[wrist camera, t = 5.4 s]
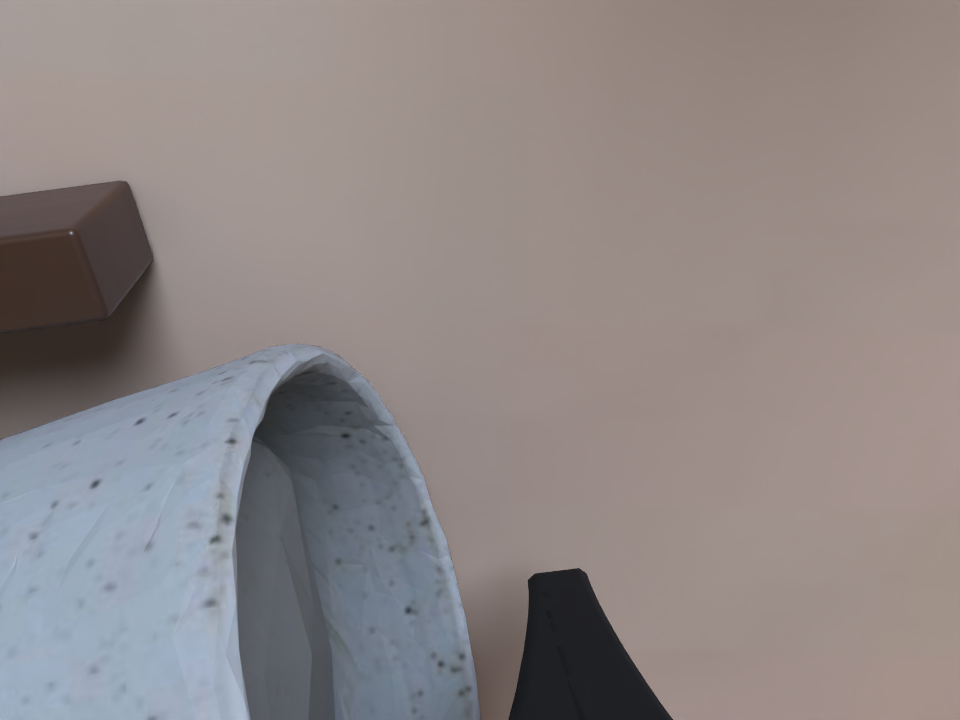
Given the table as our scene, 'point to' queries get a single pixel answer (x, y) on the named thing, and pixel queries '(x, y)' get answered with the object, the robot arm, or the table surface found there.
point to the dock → (68, 255)
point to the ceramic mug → (228, 557)
